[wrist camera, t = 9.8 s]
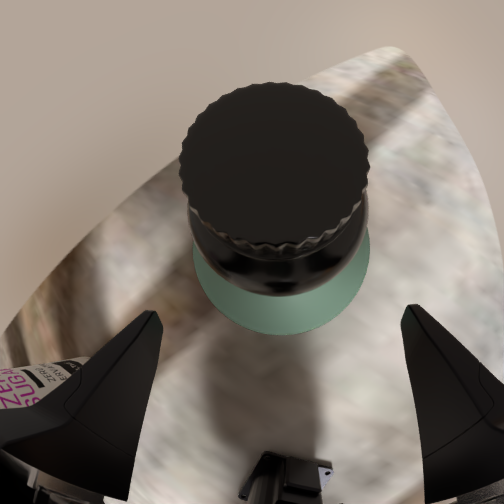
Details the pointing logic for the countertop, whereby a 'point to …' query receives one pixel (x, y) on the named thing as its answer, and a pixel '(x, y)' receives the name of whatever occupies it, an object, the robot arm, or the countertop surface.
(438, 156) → the countertop surface
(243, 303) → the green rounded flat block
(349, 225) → the supplement bottle
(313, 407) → the countertop surface
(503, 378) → the countertop surface
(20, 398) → the supplement can
